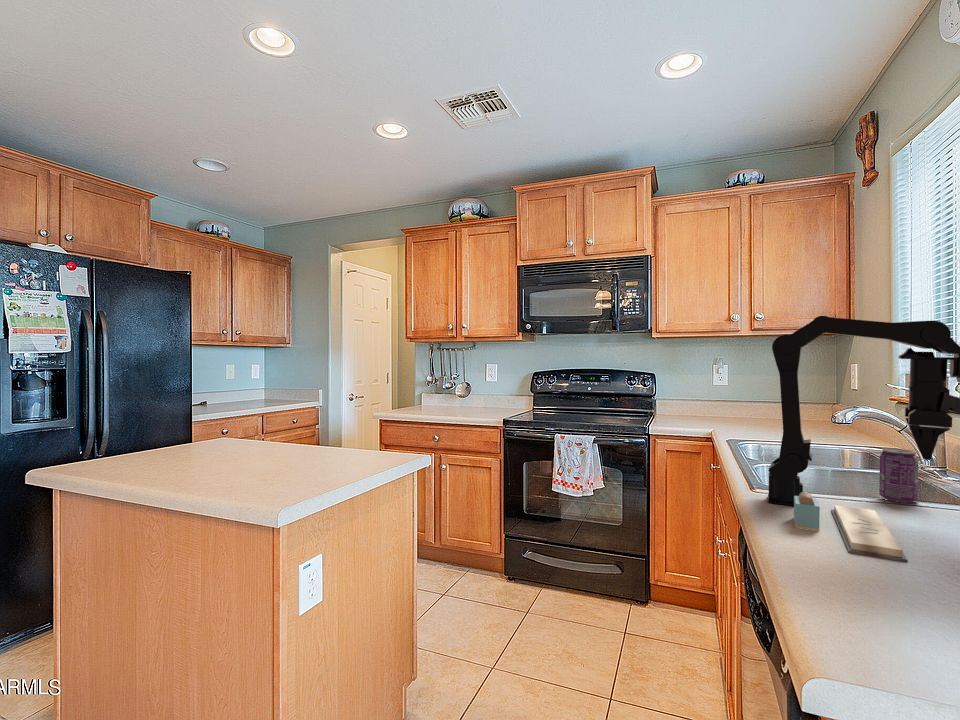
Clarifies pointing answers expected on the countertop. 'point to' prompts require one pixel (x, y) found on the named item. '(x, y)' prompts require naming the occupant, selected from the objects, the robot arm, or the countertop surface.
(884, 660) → the countertop surface
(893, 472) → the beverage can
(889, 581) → the countertop surface
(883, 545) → the board
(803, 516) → the teal toaster
